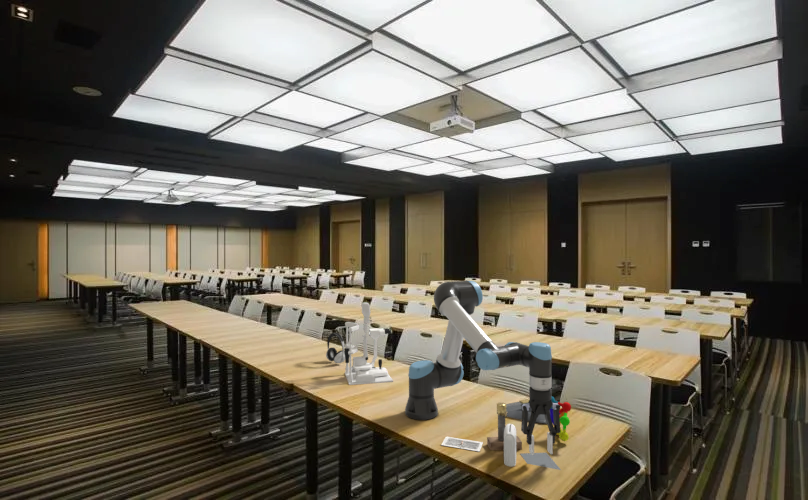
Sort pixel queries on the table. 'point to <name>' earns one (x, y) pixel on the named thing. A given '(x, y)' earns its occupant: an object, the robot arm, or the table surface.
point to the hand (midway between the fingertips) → (540, 452)
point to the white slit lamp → (364, 354)
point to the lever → (510, 406)
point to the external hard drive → (518, 415)
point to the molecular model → (562, 418)
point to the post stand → (501, 437)
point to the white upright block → (510, 445)
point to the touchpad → (462, 443)
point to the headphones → (332, 353)
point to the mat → (540, 460)
